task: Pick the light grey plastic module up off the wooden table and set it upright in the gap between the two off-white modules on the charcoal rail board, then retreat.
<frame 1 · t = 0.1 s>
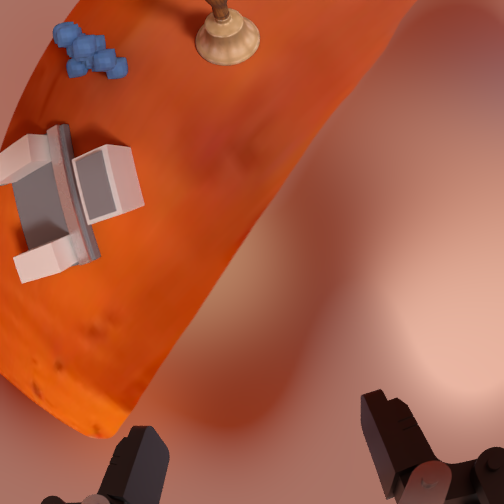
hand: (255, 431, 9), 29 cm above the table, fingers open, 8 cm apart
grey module: (121, 181, 35), on the table
hand bell: (227, 39, 30), on the table
rail board: (50, 202, 36), on the table
grapes: (106, 68, 31), on the table
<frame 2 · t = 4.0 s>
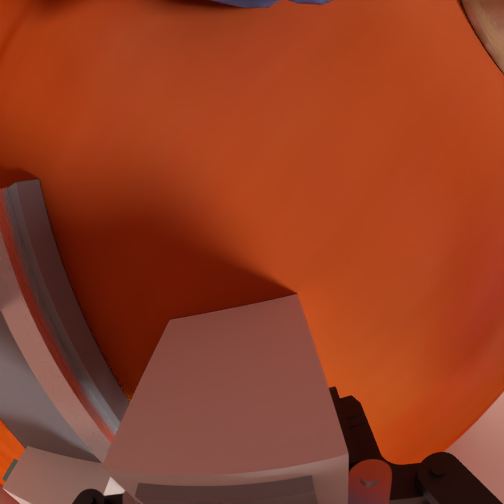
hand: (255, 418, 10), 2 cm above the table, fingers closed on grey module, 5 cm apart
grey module: (255, 385, 12), on the table, touching gripper
rail board: (37, 382, 12), on the table
when the fingers open (5 cm above the table, at t = 11.1 s): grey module drops 1 cm, resting on rail board.
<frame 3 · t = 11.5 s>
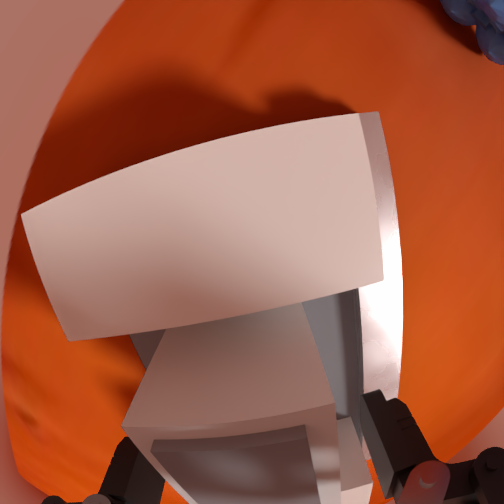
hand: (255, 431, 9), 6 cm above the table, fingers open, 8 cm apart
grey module: (256, 366, 13), point 1 cm above the table, touching rail board
rail board: (273, 345, 15), on the table
grapes: (443, 21, 10), on the table
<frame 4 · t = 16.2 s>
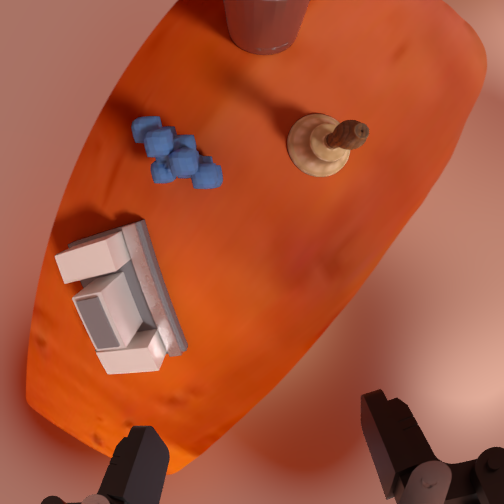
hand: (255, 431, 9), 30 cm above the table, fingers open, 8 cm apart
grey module: (118, 300, 39), point 1 cm above the table, touching rail board
hand bell: (318, 145, 35), on the table
rail board: (127, 295, 41), on the table
grapes: (185, 160, 36), on the table
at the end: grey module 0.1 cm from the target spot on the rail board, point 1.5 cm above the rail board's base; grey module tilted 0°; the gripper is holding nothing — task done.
